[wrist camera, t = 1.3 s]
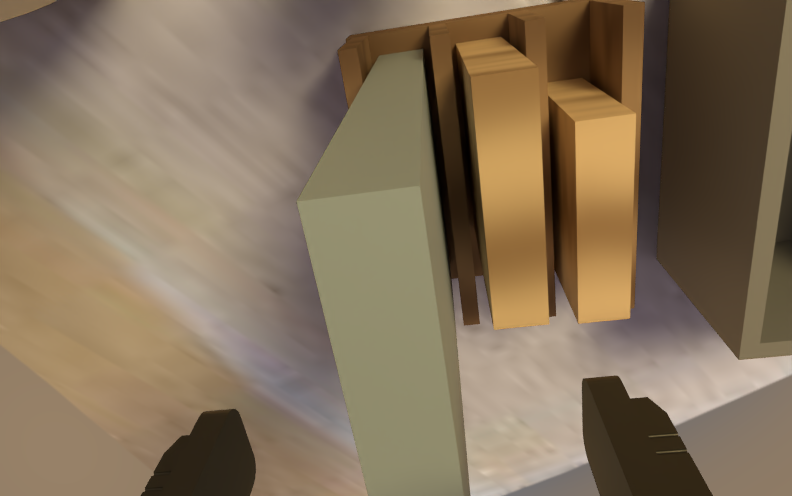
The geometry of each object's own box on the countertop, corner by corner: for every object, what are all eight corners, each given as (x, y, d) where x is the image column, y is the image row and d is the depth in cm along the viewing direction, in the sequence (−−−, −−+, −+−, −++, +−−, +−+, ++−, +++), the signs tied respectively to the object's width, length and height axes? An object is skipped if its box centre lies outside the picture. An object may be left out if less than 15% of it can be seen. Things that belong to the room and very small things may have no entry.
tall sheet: (379, 55, 28) (296, 201, 10) (423, 48, 28) (419, 186, 10) (412, 268, 33) (397, 618, 15) (450, 263, 33) (480, 614, 15)
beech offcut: (536, 84, 28) (575, 121, 21) (581, 77, 28) (636, 113, 21) (544, 245, 32) (578, 323, 25) (583, 240, 32) (630, 318, 25)
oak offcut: (455, 43, 28) (470, 77, 19) (501, 36, 27) (538, 67, 18) (474, 229, 32) (493, 329, 23) (513, 224, 32) (549, 324, 23)
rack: (350, 35, 29) (330, 51, 23) (601, -5, 28) (652, 1, 22) (391, 269, 35) (384, 333, 29) (600, 246, 34) (640, 307, 28)
